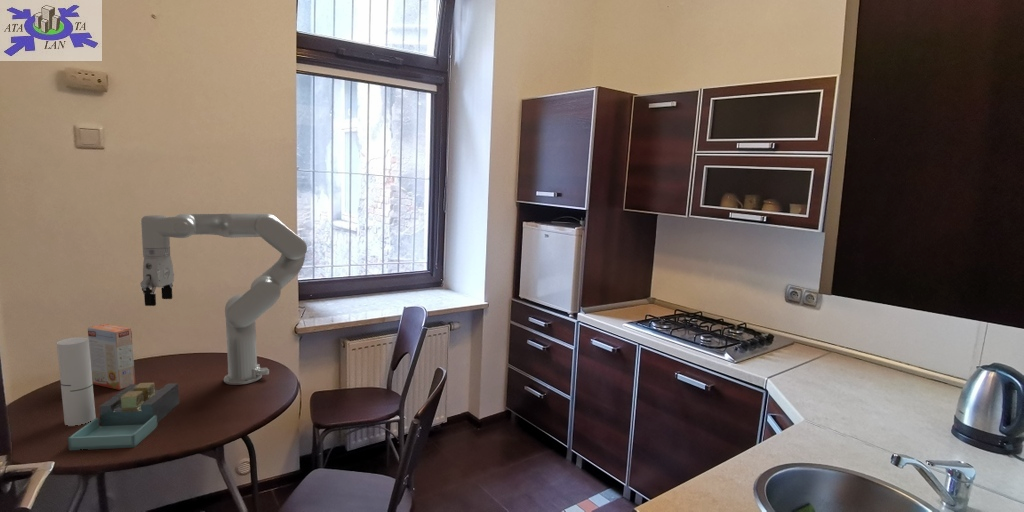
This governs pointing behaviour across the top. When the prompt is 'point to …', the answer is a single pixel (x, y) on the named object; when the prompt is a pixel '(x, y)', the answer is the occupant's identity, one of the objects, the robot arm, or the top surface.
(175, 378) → the top surface
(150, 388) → the yellow wedge block
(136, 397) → the yellow cube
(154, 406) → the tray
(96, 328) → the cracker box
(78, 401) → the cylindrical container
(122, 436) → the tray
